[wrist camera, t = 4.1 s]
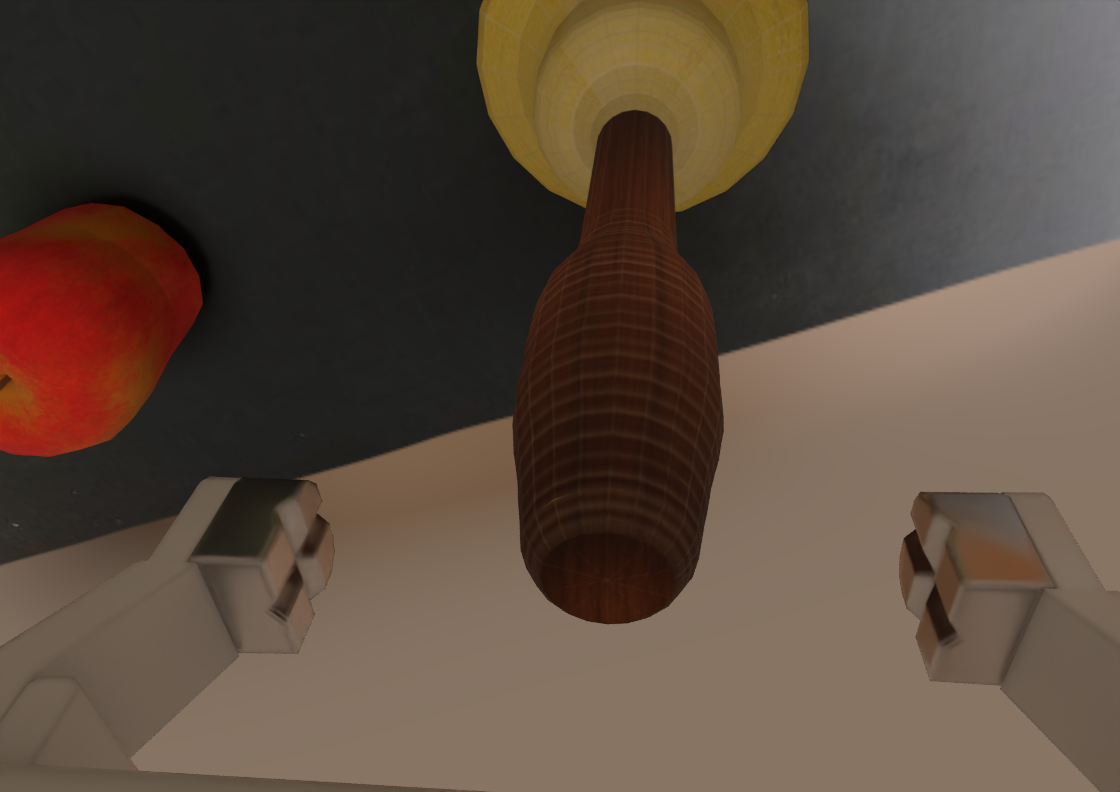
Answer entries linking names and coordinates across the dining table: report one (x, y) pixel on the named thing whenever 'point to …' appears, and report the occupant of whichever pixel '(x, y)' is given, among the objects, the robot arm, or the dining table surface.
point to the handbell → (628, 271)
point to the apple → (87, 325)
